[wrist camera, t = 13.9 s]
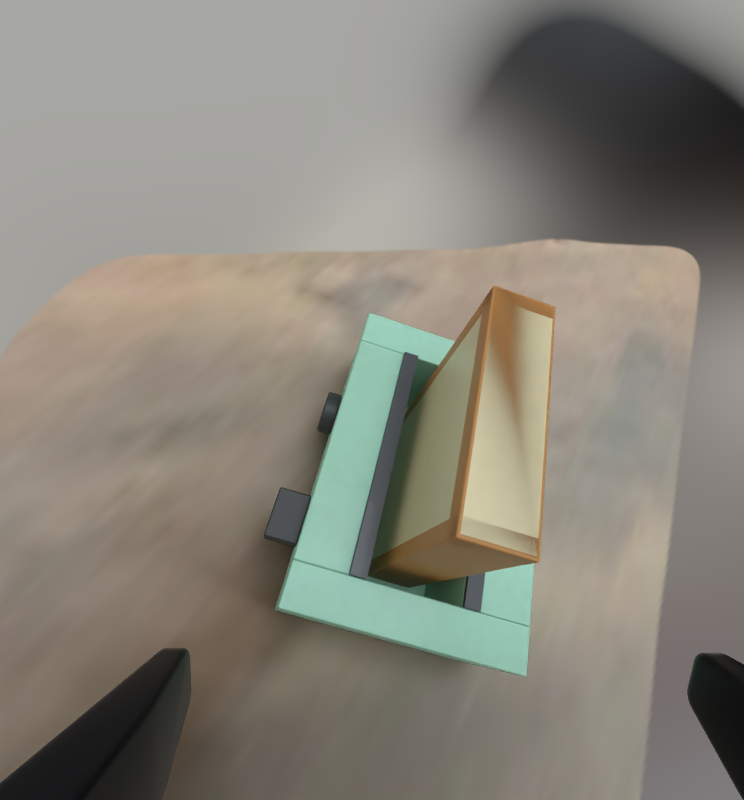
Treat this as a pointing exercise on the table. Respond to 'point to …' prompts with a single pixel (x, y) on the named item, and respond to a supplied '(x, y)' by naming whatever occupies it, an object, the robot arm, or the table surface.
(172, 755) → the robot arm
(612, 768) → the table surface
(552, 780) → the table surface
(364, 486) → the toaster
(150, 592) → the table surface
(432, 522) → the toast
